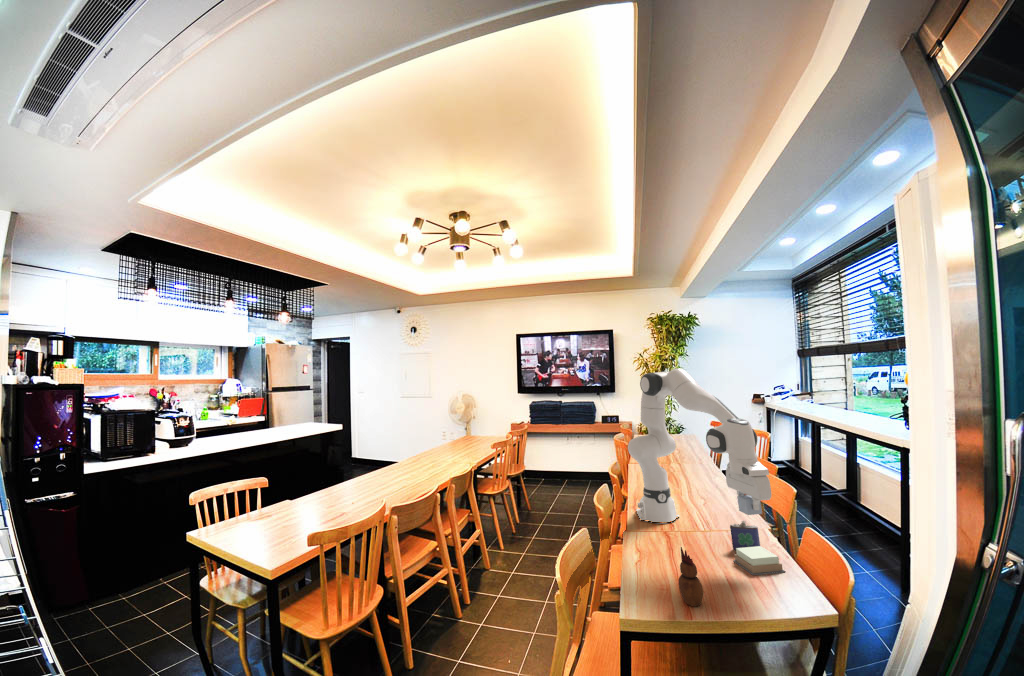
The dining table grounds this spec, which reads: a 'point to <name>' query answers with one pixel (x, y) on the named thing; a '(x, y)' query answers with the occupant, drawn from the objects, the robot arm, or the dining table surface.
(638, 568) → the dining table surface
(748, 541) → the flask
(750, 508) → the cube
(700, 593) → the wooden figurine
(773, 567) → the plinth
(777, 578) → the dining table surface
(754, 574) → the slate mat
